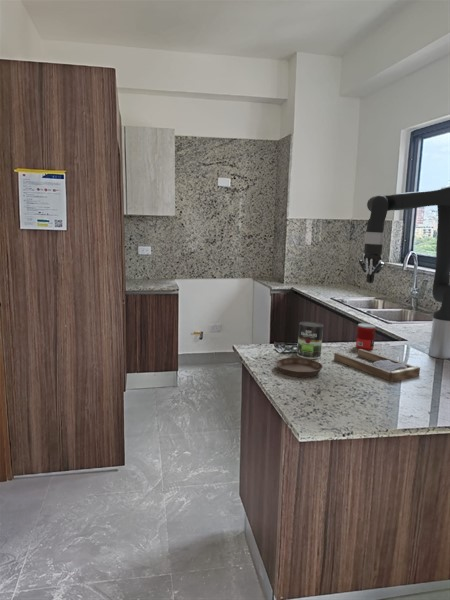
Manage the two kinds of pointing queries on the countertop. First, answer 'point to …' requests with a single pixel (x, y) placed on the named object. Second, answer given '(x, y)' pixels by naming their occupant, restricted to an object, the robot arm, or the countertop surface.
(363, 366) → the wooden serving tray
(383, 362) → the stone block
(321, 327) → the coffee can
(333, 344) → the countertop surface
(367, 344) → the canned food
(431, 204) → the robot arm
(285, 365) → the plant saucer
